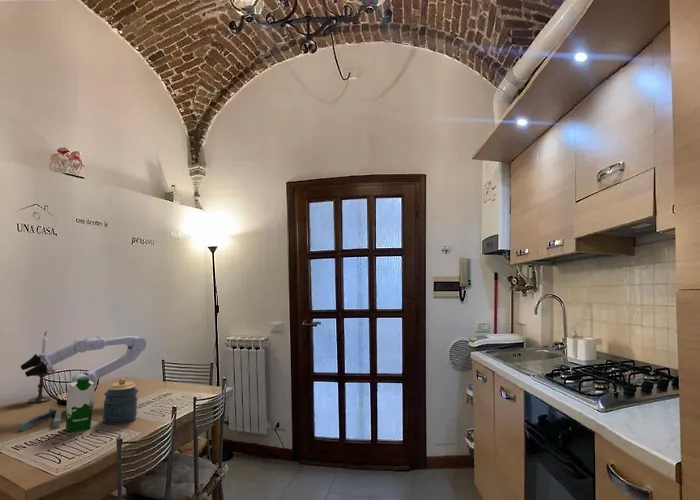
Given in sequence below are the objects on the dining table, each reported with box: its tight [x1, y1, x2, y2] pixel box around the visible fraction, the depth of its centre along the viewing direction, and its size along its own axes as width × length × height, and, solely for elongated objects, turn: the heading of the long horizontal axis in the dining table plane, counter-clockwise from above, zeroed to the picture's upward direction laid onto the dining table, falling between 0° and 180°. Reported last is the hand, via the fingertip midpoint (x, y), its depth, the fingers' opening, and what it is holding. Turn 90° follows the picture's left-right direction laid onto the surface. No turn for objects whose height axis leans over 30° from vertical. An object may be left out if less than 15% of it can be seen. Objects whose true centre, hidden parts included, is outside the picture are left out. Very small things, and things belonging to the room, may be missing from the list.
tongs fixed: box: [48, 407, 63, 429], centre depth 173 cm, size 5×20×3 cm, turn 33°
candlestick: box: [27, 330, 56, 404], centre depth 205 cm, size 11×11×35 cm
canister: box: [102, 377, 139, 425], centre depth 178 cm, size 13×13×18 cm
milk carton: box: [65, 378, 95, 433], centre depth 166 cm, size 9×9×20 cm
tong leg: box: [17, 411, 52, 432], centre depth 170 cm, size 2×16×3 cm, turn 3°
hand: (23, 371), depth 178 cm, fingers open, 7 cm apart
